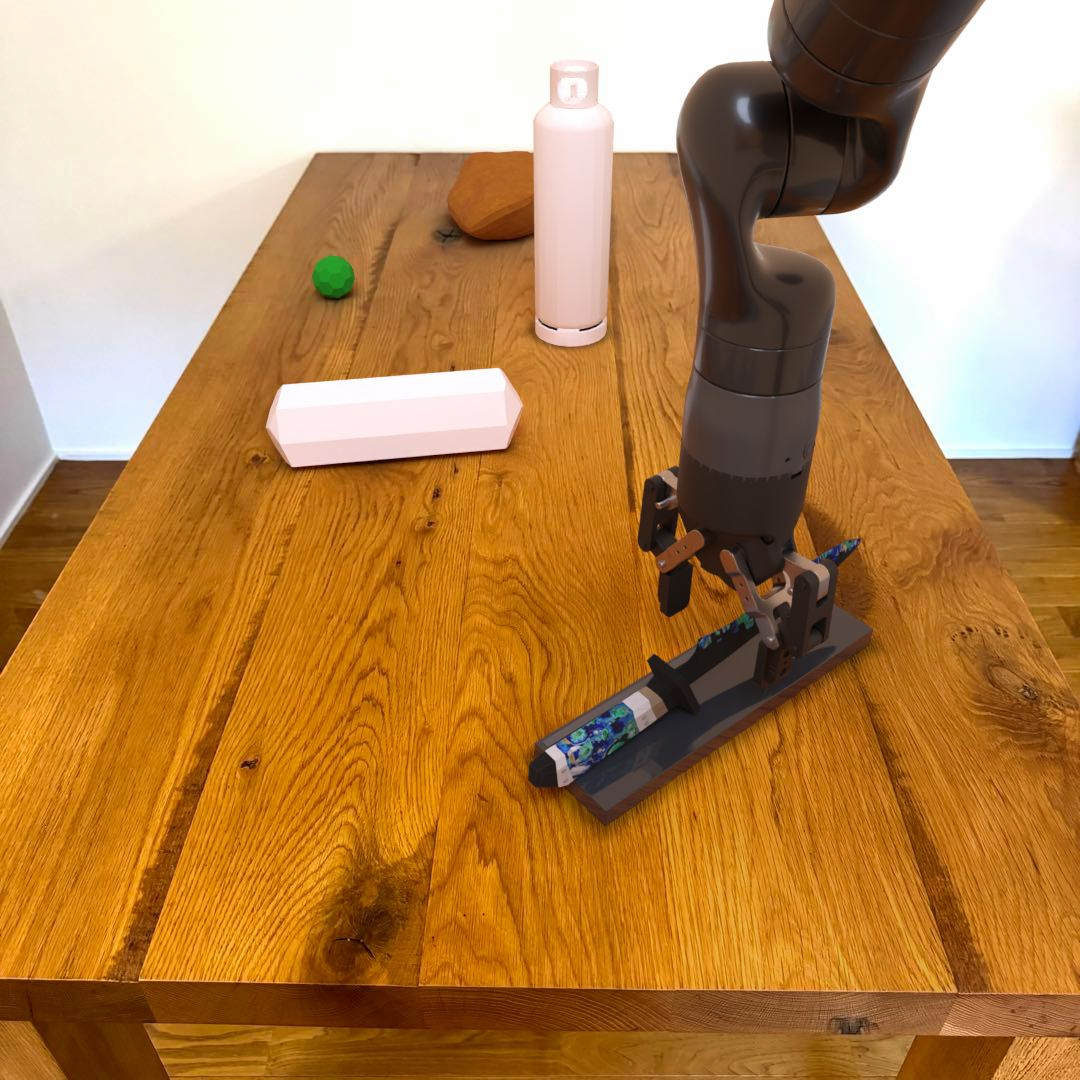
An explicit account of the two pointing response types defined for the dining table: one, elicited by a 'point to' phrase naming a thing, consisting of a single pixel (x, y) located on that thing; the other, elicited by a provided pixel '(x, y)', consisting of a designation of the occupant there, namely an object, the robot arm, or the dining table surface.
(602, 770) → the slate board
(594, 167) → the bottle
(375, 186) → the dining table surface
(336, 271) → the polyhedron
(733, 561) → the robot arm
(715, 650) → the knife
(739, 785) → the dining table surface
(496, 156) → the orange brown rock
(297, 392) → the crystal
